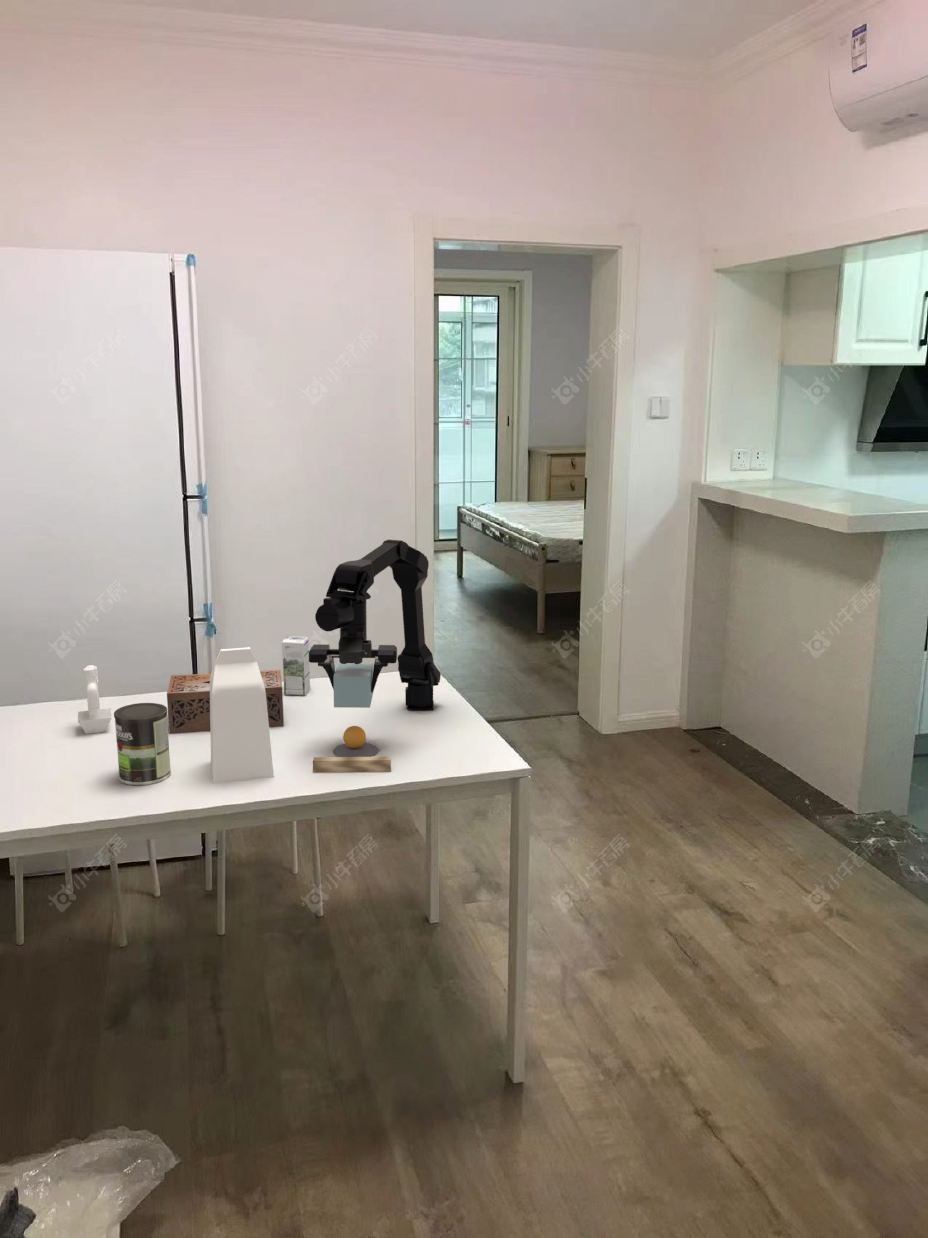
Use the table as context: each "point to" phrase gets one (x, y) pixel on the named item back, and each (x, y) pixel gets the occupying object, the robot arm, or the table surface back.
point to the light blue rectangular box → (353, 685)
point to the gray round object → (356, 750)
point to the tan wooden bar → (351, 764)
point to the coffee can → (142, 743)
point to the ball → (354, 737)
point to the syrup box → (296, 665)
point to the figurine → (93, 705)
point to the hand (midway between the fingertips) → (353, 691)
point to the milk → (238, 718)
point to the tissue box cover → (193, 701)
